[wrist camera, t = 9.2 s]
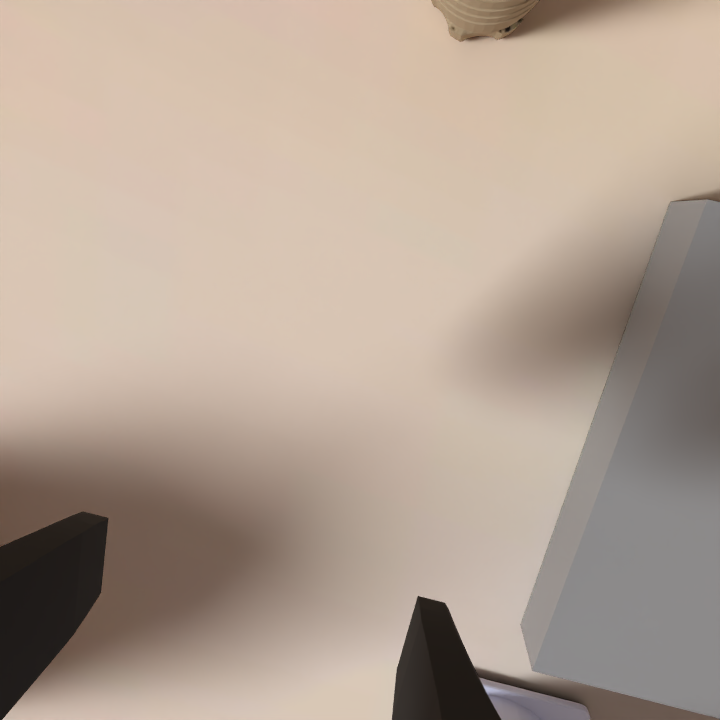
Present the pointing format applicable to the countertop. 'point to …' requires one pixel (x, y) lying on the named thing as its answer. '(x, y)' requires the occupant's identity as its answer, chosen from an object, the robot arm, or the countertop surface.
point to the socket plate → (647, 497)
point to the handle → (483, 16)
